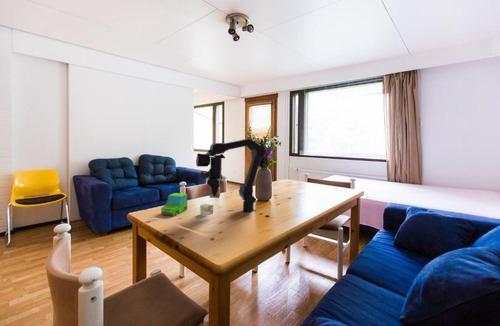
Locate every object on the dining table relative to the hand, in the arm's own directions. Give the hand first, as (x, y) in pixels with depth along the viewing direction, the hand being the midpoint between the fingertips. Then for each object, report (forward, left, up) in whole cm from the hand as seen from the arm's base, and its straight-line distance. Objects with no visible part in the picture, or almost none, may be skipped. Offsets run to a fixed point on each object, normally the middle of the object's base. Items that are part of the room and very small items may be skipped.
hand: (214, 194), depth 129 cm
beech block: (+2, -4, -11) cm, 12 cm away
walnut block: (0, 0, -1) cm, 1 cm away
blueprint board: (+2, -5, -12) cm, 13 cm away
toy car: (+11, -20, -12) cm, 26 cm away
